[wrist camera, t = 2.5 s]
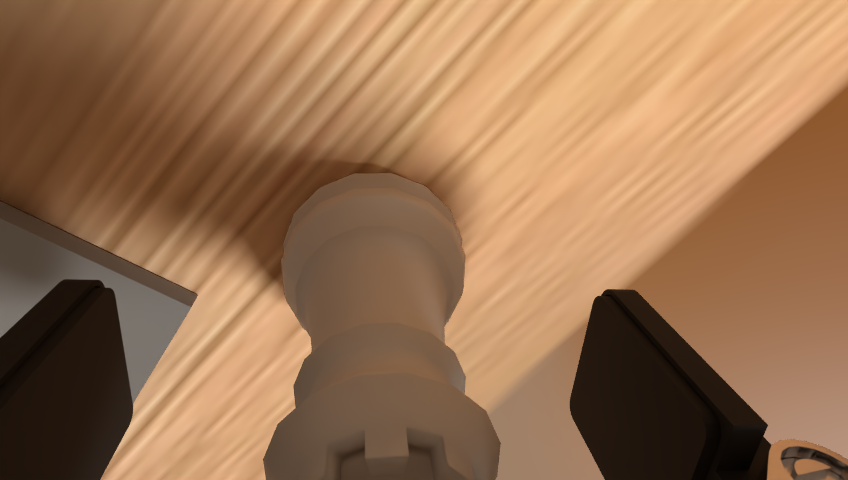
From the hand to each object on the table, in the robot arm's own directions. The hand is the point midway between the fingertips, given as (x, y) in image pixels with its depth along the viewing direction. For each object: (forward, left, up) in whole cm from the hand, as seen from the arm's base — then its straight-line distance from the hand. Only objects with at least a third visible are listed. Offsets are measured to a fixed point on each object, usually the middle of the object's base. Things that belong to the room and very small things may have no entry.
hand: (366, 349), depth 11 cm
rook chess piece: (0, 0, -4) cm, 4 cm away
